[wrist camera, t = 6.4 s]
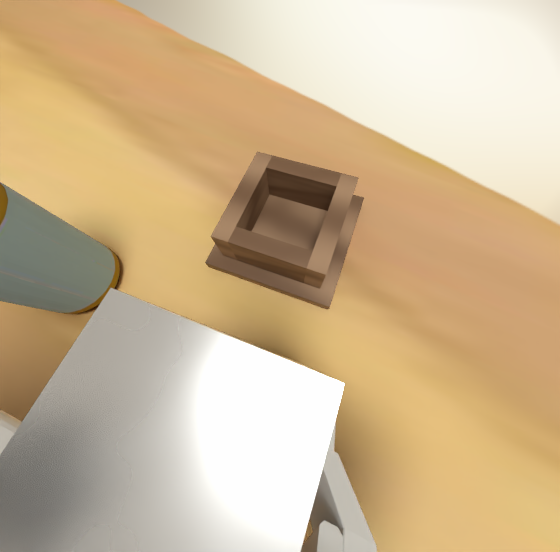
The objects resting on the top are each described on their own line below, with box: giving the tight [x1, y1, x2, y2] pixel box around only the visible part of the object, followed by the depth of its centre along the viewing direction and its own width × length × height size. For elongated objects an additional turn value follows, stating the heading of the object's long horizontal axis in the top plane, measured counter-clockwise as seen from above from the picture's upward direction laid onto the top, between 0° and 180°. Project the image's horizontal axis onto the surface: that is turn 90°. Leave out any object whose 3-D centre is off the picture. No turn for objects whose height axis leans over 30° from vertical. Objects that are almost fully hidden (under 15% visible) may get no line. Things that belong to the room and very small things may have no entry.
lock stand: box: [205, 152, 364, 309], centre depth 21 cm, size 12×12×4 cm
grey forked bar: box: [0, 288, 345, 552], centre depth 10 cm, size 4×4×16 cm
